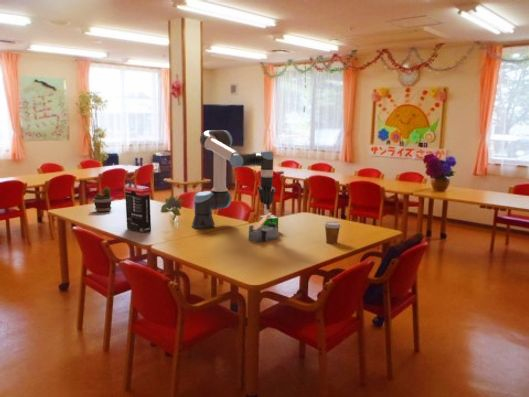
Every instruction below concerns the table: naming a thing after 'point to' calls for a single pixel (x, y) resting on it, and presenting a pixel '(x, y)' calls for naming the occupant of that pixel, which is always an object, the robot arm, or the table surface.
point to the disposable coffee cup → (332, 232)
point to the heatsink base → (263, 233)
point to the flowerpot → (103, 201)
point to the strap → (261, 222)
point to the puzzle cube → (270, 220)
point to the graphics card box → (138, 209)
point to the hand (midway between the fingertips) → (266, 214)
